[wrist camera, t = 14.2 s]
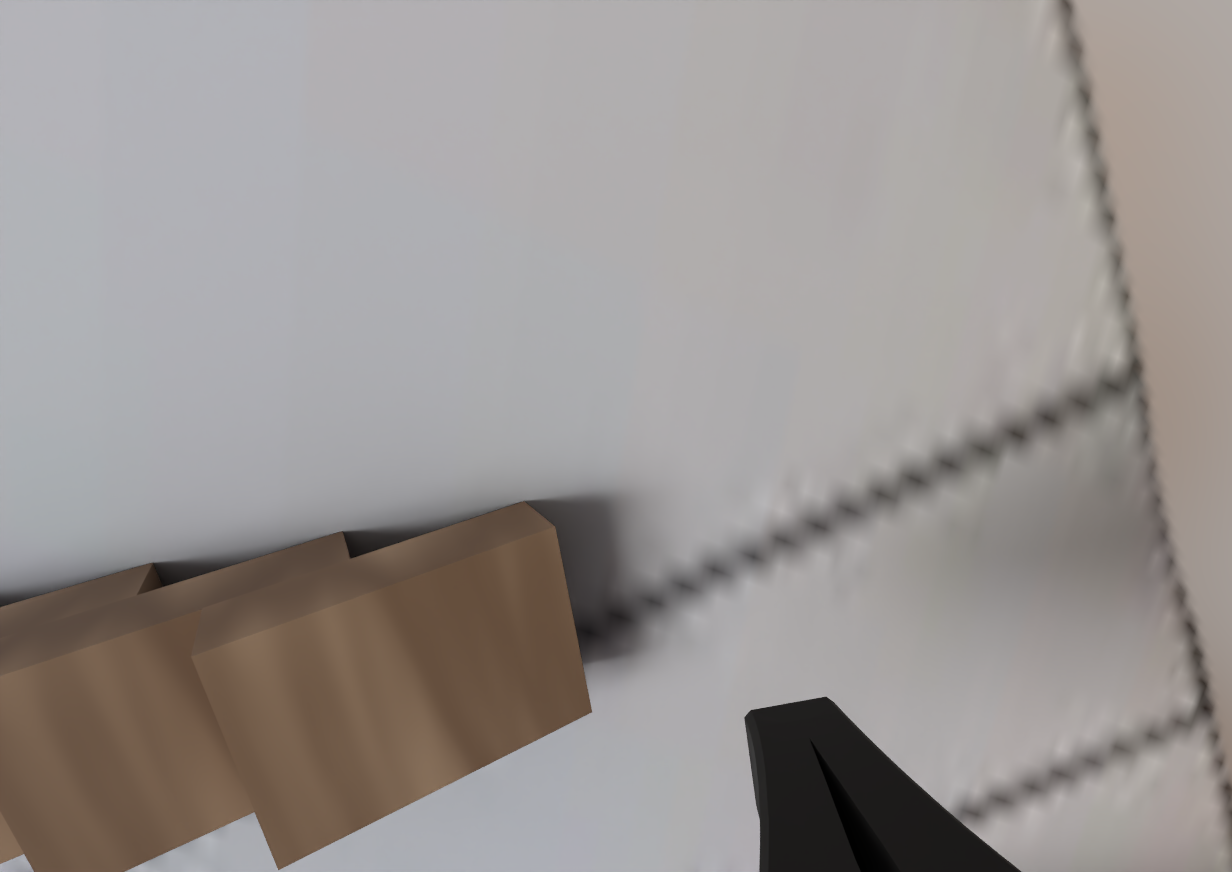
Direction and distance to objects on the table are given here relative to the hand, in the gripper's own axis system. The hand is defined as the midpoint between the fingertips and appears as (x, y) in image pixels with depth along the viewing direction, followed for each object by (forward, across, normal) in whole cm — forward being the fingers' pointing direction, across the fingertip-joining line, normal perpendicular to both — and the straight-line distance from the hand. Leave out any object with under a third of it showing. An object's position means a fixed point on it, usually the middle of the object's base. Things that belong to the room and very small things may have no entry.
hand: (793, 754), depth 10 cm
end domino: (+6, +4, 0) cm, 7 cm away
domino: (+6, +9, 0) cm, 10 cm away
